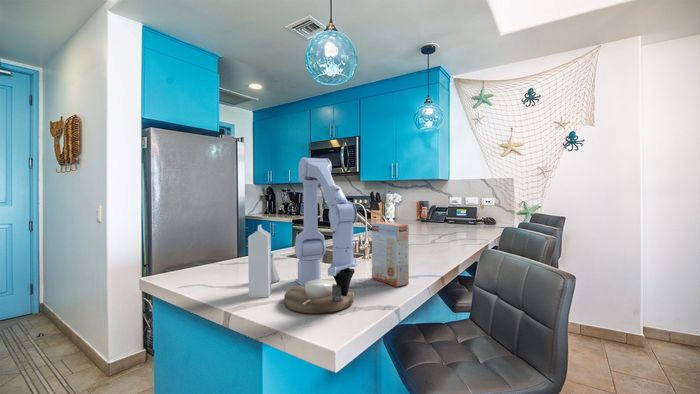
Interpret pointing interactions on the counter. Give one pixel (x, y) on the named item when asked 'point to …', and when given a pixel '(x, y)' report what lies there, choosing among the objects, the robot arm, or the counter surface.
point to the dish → (318, 288)
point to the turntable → (317, 300)
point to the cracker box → (390, 253)
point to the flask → (274, 271)
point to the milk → (259, 263)
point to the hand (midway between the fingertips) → (343, 295)
